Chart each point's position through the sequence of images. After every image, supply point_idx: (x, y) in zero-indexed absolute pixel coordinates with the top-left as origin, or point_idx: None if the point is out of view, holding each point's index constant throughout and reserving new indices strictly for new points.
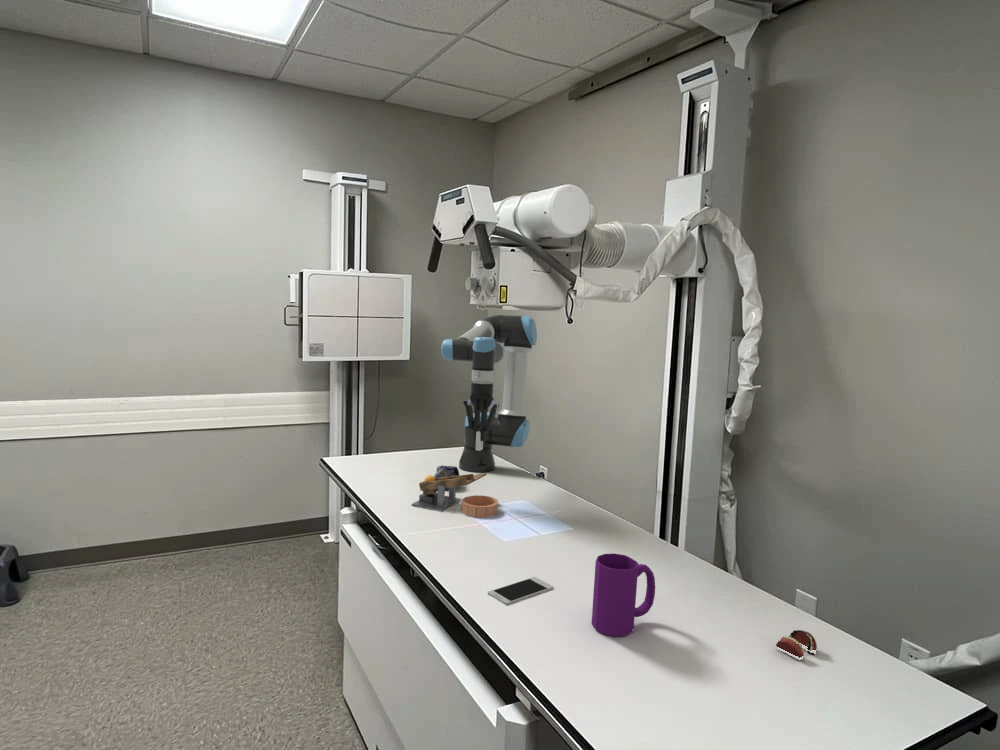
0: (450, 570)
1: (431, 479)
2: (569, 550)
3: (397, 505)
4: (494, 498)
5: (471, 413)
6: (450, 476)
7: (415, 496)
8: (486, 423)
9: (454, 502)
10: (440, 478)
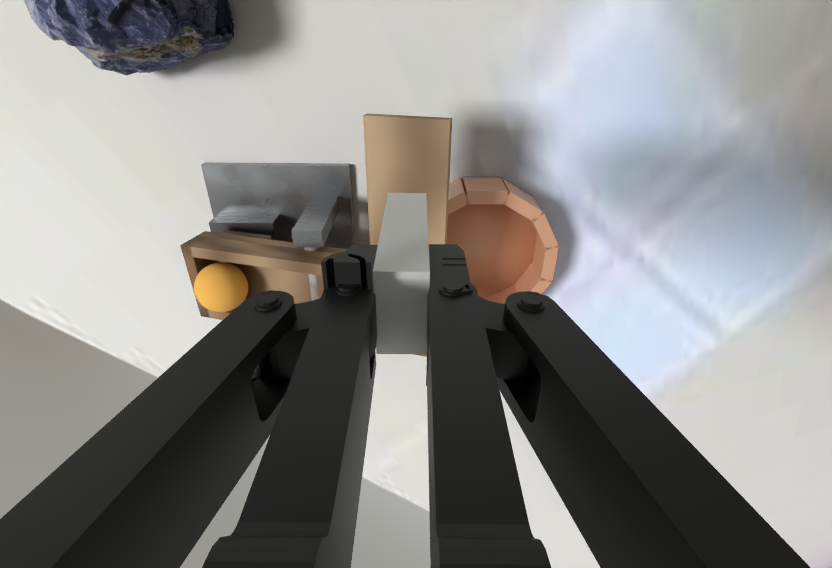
0: (548, 545)
1: (236, 305)
2: (806, 394)
3: (200, 328)
4: (526, 203)
5: (165, 519)
6: (298, 262)
7: (166, 215)
8: (487, 352)
9: (352, 225)
10: (253, 264)
